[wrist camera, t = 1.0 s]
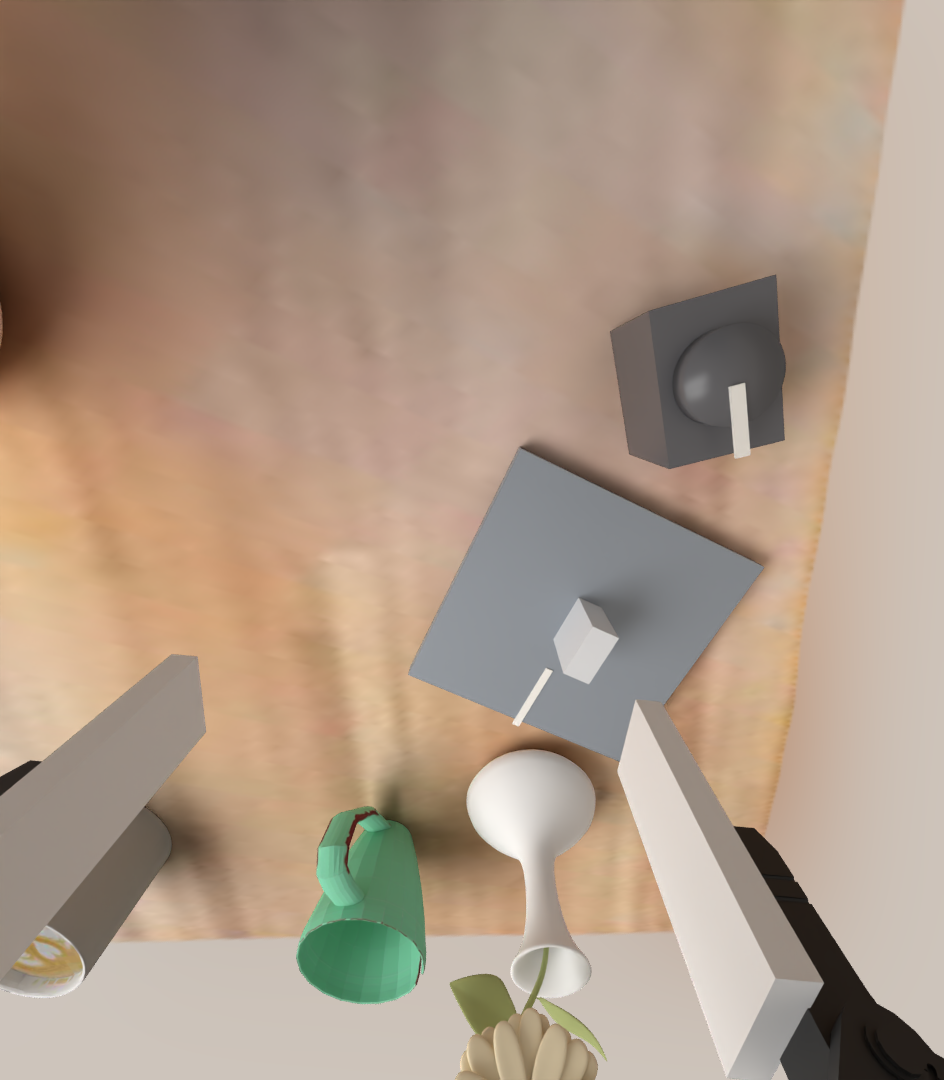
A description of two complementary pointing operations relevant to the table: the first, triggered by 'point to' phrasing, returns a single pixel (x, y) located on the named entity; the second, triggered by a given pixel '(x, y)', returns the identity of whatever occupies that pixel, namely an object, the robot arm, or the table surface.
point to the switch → (577, 607)
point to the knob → (703, 376)
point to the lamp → (1, 325)
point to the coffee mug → (92, 913)
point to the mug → (365, 912)
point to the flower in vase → (530, 923)
